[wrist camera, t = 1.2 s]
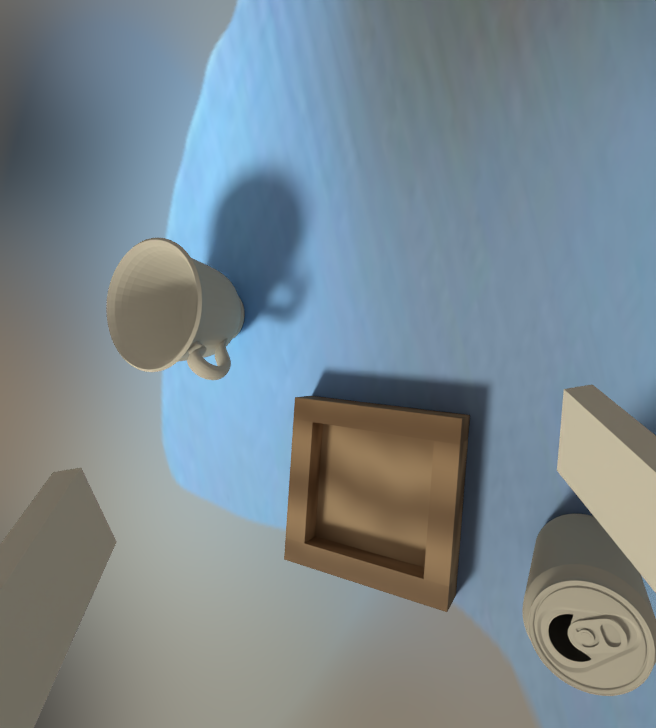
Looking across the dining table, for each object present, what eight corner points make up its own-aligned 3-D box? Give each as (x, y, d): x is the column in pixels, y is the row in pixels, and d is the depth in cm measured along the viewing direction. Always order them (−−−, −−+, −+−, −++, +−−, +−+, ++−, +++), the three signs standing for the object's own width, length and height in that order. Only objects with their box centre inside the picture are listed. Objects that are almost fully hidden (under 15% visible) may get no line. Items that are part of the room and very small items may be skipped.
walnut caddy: (311, 395, 45) (295, 397, 42) (469, 415, 38) (462, 418, 35) (301, 548, 45) (284, 559, 43) (455, 595, 38) (447, 612, 36)
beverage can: (521, 521, 36) (500, 585, 25) (611, 500, 33) (629, 563, 23) (556, 605, 35) (548, 709, 24) (651, 591, 32) (690, 701, 21)
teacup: (237, 414, 49) (163, 424, 40) (167, 318, 54) (88, 309, 45) (307, 332, 45) (243, 324, 36) (225, 237, 50) (150, 209, 41)
